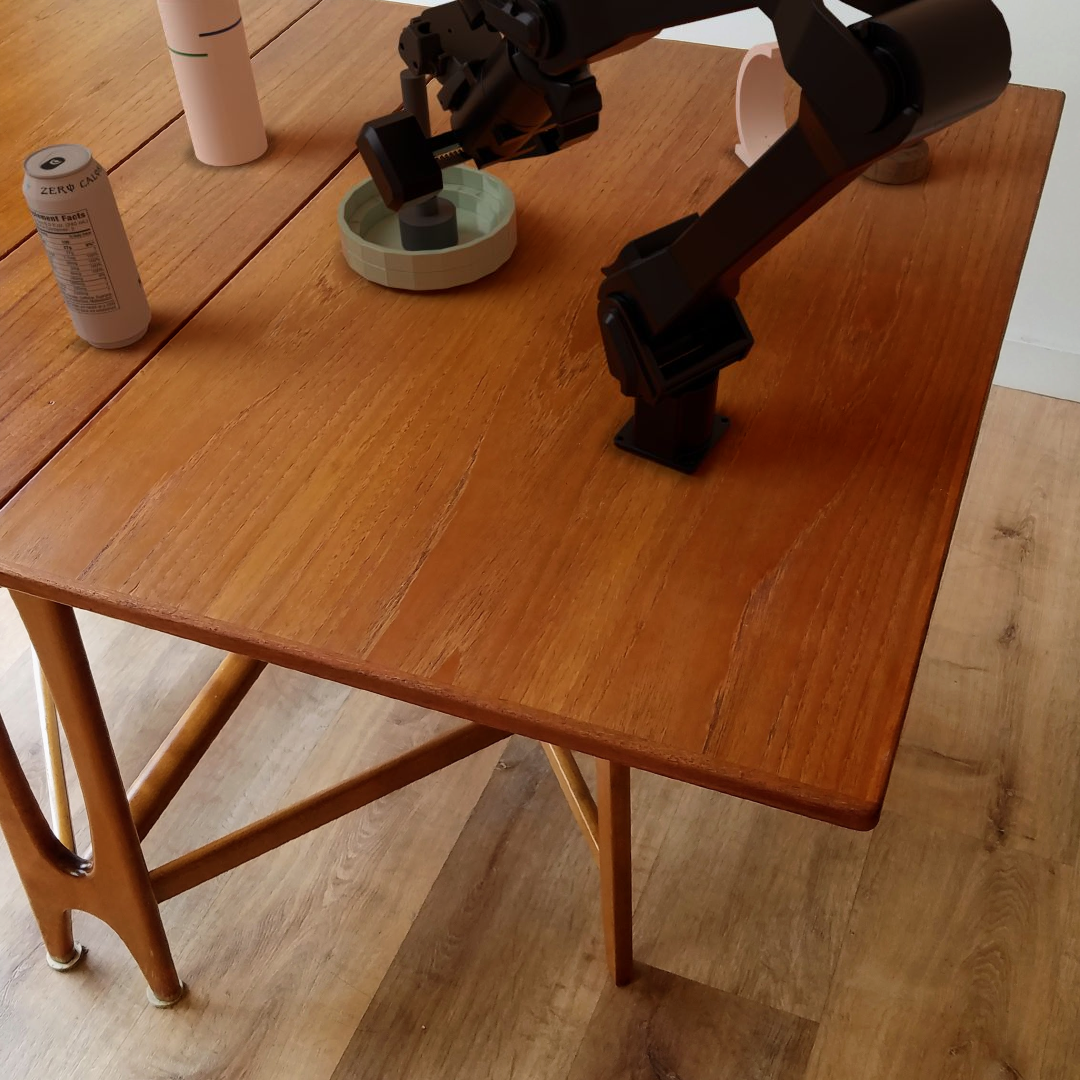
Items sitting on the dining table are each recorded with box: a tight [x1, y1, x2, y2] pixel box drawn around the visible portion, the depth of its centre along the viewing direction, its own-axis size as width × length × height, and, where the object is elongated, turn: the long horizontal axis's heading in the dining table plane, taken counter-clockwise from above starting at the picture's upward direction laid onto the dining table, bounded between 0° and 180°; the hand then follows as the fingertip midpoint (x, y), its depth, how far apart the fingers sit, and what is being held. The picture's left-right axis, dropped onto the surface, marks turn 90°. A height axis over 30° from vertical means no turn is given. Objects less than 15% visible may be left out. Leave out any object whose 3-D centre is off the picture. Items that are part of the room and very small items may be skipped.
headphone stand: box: [734, 40, 788, 169], centre depth 107 cm, size 5×6×12 cm
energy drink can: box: [21, 142, 152, 350], centre depth 89 cm, size 6×6×15 cm
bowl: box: [336, 164, 518, 291], centre depth 100 cm, size 15×15×4 cm
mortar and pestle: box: [861, 138, 930, 185], centre depth 103 cm, size 7×6×18 cm
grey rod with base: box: [398, 67, 459, 251], centre depth 96 cm, size 5×5×15 cm
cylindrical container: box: [156, 0, 269, 167], centre depth 106 cm, size 7×7×25 cm
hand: (446, 174), depth 93 cm, fingers open, 9 cm apart
